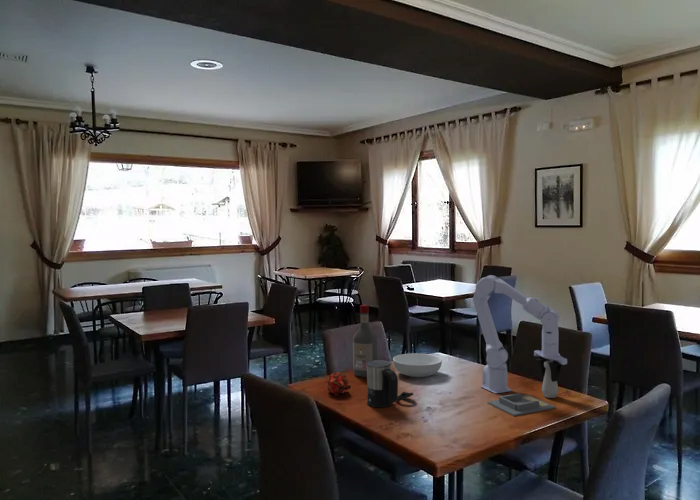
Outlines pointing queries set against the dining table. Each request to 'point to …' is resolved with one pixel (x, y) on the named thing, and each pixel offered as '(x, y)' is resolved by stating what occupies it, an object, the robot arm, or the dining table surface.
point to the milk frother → (382, 384)
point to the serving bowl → (417, 364)
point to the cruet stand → (520, 404)
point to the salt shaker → (549, 383)
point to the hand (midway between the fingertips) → (549, 379)
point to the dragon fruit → (337, 383)
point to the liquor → (364, 344)
